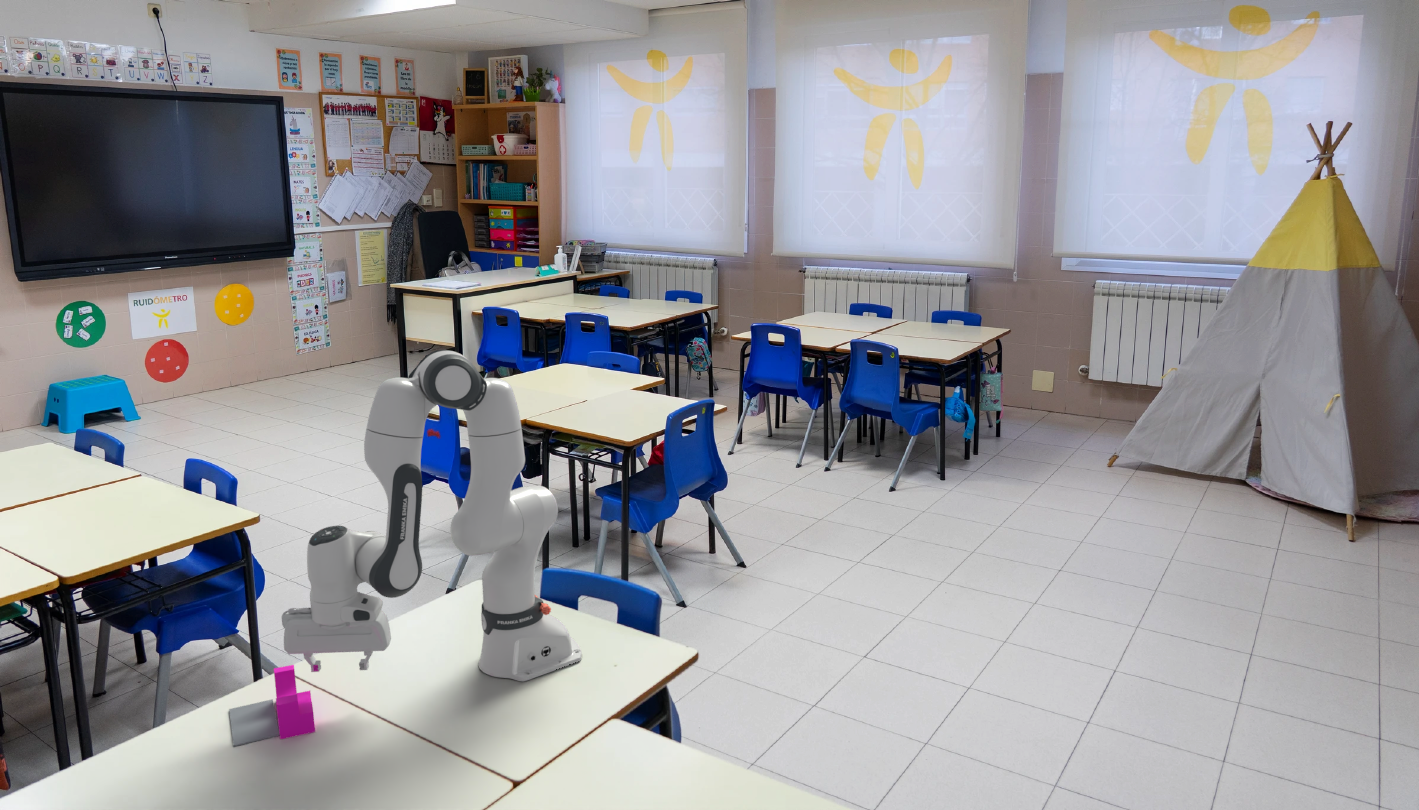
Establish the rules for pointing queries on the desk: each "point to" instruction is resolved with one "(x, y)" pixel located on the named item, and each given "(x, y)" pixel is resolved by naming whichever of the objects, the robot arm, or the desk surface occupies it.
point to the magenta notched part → (292, 705)
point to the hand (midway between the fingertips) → (340, 669)
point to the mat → (253, 722)
